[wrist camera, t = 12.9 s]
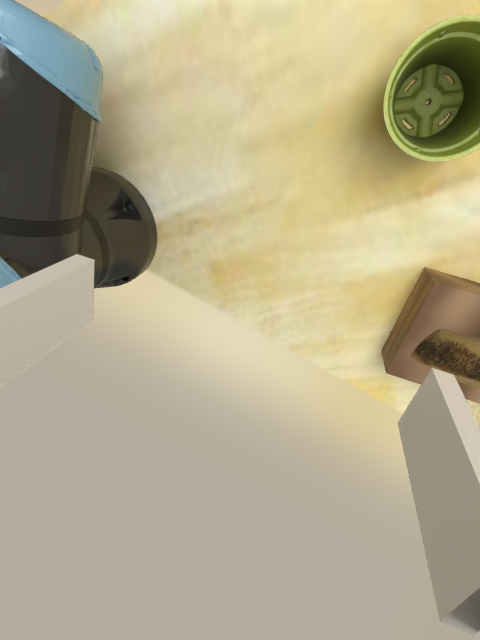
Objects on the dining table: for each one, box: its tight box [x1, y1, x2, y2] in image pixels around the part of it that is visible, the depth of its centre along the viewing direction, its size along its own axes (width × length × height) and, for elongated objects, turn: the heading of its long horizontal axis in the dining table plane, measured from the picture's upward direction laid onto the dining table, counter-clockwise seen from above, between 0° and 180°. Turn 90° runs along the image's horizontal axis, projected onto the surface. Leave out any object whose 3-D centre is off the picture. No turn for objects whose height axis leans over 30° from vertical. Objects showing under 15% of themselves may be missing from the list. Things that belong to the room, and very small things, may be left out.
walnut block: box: [382, 268, 480, 403], centre depth 41 cm, size 14×12×5 cm
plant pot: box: [383, 15, 480, 162], centre depth 31 cm, size 9×9×9 cm
